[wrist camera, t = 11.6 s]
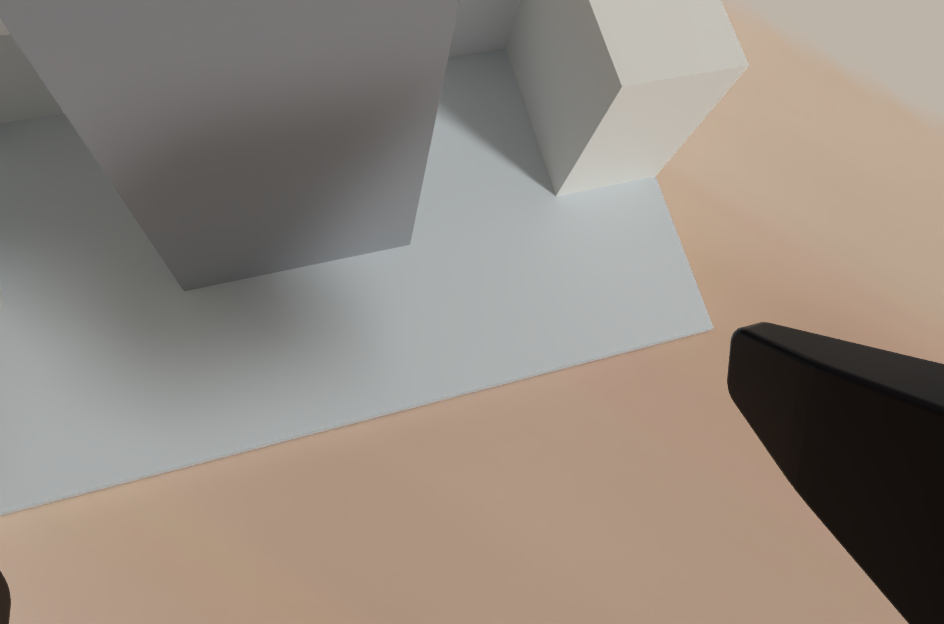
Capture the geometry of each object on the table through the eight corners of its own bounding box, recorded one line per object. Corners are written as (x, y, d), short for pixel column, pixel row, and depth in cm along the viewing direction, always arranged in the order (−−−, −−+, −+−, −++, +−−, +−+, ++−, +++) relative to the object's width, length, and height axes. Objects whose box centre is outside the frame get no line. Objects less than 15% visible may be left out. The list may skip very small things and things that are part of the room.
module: (409, 244, 18) (488, -139, 8) (180, 292, 17) (-85, -91, 7) (371, 108, 19) (397, -391, 9) (152, 143, 18) (-117, -392, 8)
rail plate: (708, 331, 19) (833, 258, 14) (-378, 614, 14) (-790, 657, 9) (568, -36, 22) (632, -203, 17) (-373, 79, 17) (-680, -116, 12)
